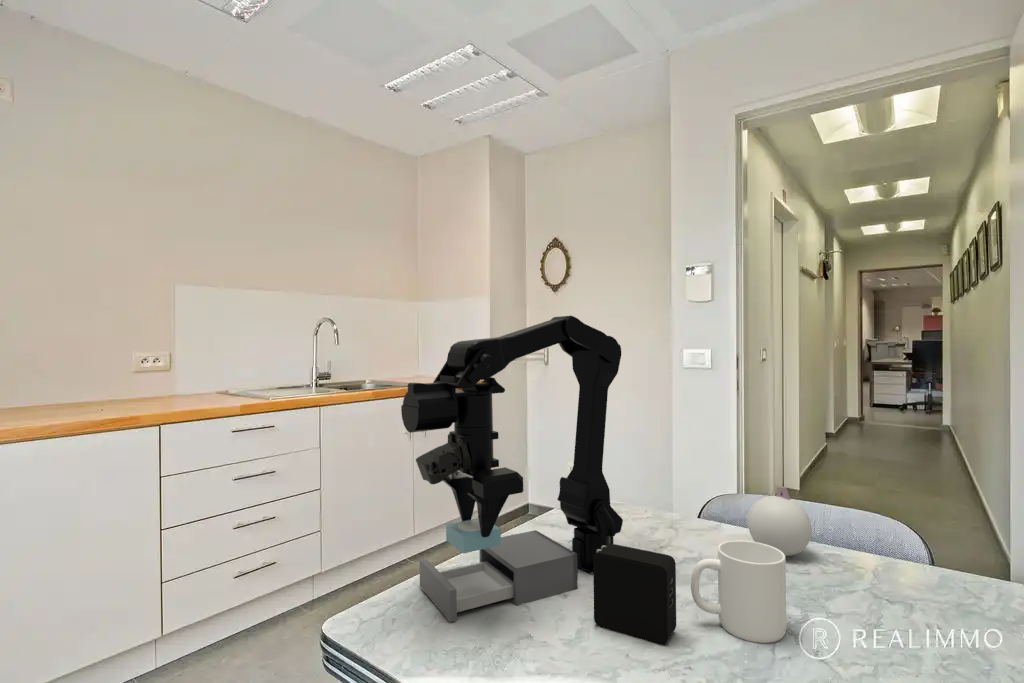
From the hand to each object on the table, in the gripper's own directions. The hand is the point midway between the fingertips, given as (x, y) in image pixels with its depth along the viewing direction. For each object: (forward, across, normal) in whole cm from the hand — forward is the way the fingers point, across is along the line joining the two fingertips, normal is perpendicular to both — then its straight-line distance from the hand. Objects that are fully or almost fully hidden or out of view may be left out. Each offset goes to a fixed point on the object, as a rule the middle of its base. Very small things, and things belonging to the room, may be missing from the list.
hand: (475, 530), depth 79 cm
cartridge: (+2, 0, 0) cm, 2 cm away
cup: (+11, +24, +27) cm, 38 cm away
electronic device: (+11, +18, +15) cm, 26 cm away
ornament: (+12, +12, +55) cm, 58 cm away
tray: (+11, -2, +1) cm, 11 cm away
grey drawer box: (+11, -2, +10) cm, 15 cm away
